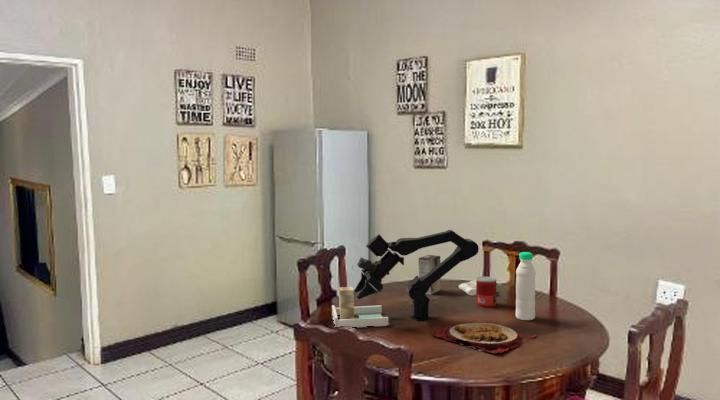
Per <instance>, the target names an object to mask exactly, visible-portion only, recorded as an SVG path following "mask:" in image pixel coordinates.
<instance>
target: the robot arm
mask: <svg viewBox="0 0 720 400" xmlns="http://www.w3.org/2000/svg"><path fill="white" fill-rule="evenodd" d="M446 243H452V244H454V245H456V247H455V249H454V251H453V252H452V253H450V255H448V256H447V257H446V258H445V259H444V260H442V261H440V264H439V265H437V266H436V267H435V268H434V269H433V270H431V271H430V272H429V273H428V274H426V275H425V276H423V277H421V278H419V275H415V276H414V278H412V280H409V281H408V282H409V283H408V284H407V286H406V292H407V294H408V297H409V298H410V299H411V300H412V303H411V304H412V309H411V310H412V313H411V314H409V315H408V317H409V318H411V319H414V321H415V320H416V321H418V322H419V321H425V320H430V319H433V317H432V316H431V315H429V303H430V298H429V296H428V294H426V293H427V291H428V290H429V288H430V287H431V285H432V284H434V283H435V282H436V281H437V280H439V279H440V278H443V277H444V276H445V275H446V274H447V273H449V272H450V271H451V270H452V269H454V268H455V267H457V265H458V264H460V263H462V262H465V261H467V260H469V259H471V258H473V257H475V256H476V255H478V253H479V250H480V249H479V245H478V244H477V242H475V241H474V240H472V239H471V238H464V237H463V236H461V235H459V234H458V233H456V232H455V231H454V230H453V229H448V230H446V231H441V232H438V233H433V234H427V235H425V236H419V237H401V238H397V240H396V241H389V242H387V241H386V240H385V239H384V238H383V237H382V235H381V234H380V233H377V235H376V236H375V237H373V238H371V239H370V240H369V241H368V242H367V244H366V245H365V247H366V248H367V249H368V250H369V251H370V252H371V253H372V254H373V255H375V256H376V258H377V257H380V259H379V260H375V261H374V262H372V260H369V259H368V258H367V259H365V258H363V257H360V259H358V262H357V267H358V268H360V269H361V272H360V276H361V277H360V280H359V281H358V284H357V285H356V287H355V289H353V290H354V292H355V293H358V292H359V293H358V295H357V296H356V297H357V299H358V300H361V299H363V298H365V297H366V298H367V297H368V296H370V295H371V296H372V295H373V294H376V293H380V292H382V290H384V284H383V283H382V282H383V281H382V280H383V279H384V278H385V277H386V276H389V275H390V272H391V270H392V269H393V268H395V266H396V265H398V264H399V263H400V264H401V265H402V266H404V265H405V257H404V256H408V255H410V254H413V253H415V252H416V251H418V250H421V249H424V248H428V247H433V246H437V245H441V244H446Z"/></svg>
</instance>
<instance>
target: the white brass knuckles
mask: <svg viewBox="0 0 720 400" xmlns="http://www.w3.org/2000/svg"><path fill="white" fill-rule="evenodd" d="M458 288H459V290H461V291H463V292H464V293H466V294H467V295H468V296H470V297H471V296H476V279H475V280H470V281H469V282H463V283H460V284H459V285H458Z"/></svg>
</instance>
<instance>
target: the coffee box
mask: <svg viewBox="0 0 720 400" xmlns="http://www.w3.org/2000/svg"><path fill="white" fill-rule="evenodd" d="M440 263H441V255H435V254H434V255H433V254H427V255H424V256H421V257H418V277H419V278H421V277H423V276H425V275H426V274H428V273H429V272H430V271H431V270H433V269H434V268H435V267H436V266H437V265H439V264H440ZM441 278H442V277H441ZM441 278H440V279H439V280H437V281H436V282H435V283H434V284H432V285H431V287H430V288H429V290H428V291H427V293H426V294H427V295H434V294H435V293H437V292H439V291H441V287H442V286H441V283H442V282H441Z"/></svg>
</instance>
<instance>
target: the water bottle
mask: <svg viewBox="0 0 720 400" xmlns="http://www.w3.org/2000/svg"><path fill="white" fill-rule="evenodd" d="M518 256H519V257H518V258H519V260H520V263H519V264H518V266H517V268H516V269H515V270H516V271H515V274H516V277H515V278H516V279H515V317H516V319H518V320H521V321H532V320H534V319H535V318H536V309H535V308H536V269H535V268H534V264H533V263H532V261H533V256H534V255H533V253H532V252H529V251H522V252H519V255H518Z"/></svg>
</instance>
